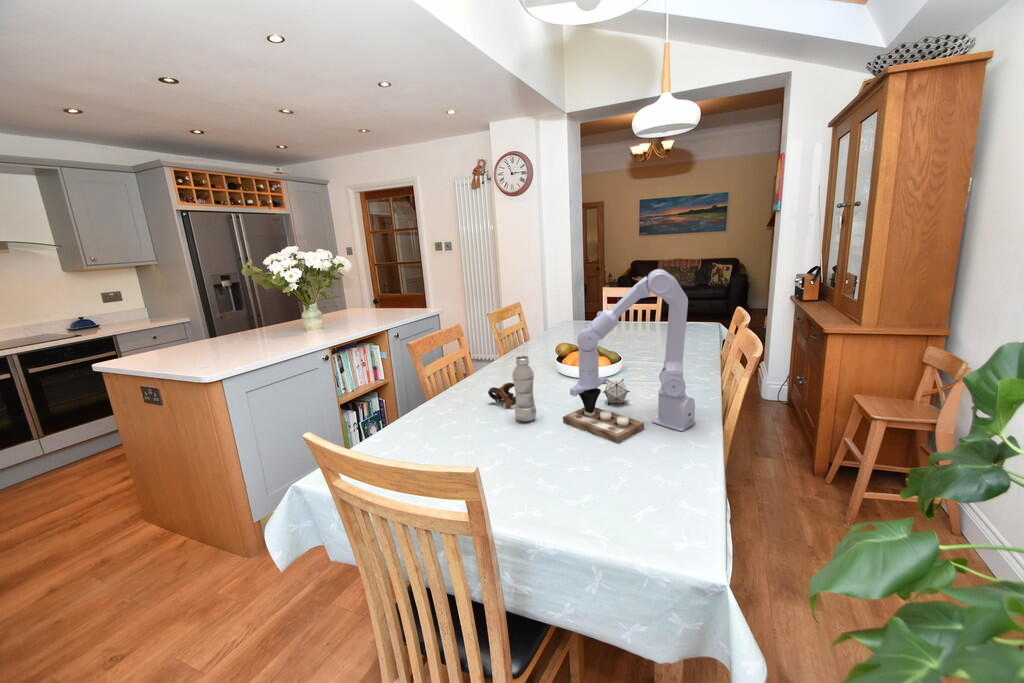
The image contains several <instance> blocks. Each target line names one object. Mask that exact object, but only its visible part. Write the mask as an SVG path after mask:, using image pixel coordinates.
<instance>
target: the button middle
mask: <svg viewBox="0 0 1024 683" xmlns="http://www.w3.org/2000/svg"><path fill="white" fill-rule="evenodd" d="M611 412H612V411H609V412H608V410H606V411H602V412H600V420H602V421H605V422H608V421H610V420H611Z"/></svg>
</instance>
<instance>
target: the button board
mask: <svg viewBox="0 0 1024 683" xmlns="http://www.w3.org/2000/svg"><path fill="white" fill-rule="evenodd" d="M584 411H585V407H584V406H583V407H581V408H579V409H578V410H575V411H573V412H571V413H568V414H566V415H563V416H562V423H563V424H565V423H566V424H565V425H567V424H568V426H570V425H571V427H573V428H575V427H576V429H578V428H579V429H578V430H581V431H583V430H584V432H586V431H587V432H586V433H589V434H591V433H592V435H594V434H595V435H594V436H597V437H600V438H602V439H605V440H607V439H608V441H610V440H611V442H613V443H615V442H616V444H620V443H621V442H623V440H624V441H625V439H626V440H628V439H630V438H631V437H633V436H634V434H635V435H636V433H637V434H639V433H640V432H642V431H644V430H645V422H644V421H640V420H637V419H633V418H631V417H627V416H624V415H621V414H618V413H615V412H612V411H608V410H604V409H602V408H600V407H596V406H595V408H594V411H595V415H593V416H588V415H585V414H584ZM602 411H608V412H611V420H610V421H608V422H605V421H602V420H600V412H602ZM618 417H627V418H628V419H629V426H627V427H625V428H623V427H620V426H617V418H618ZM643 429H644V430H643ZM632 435H633V436H632ZM627 438H628V439H627Z"/></svg>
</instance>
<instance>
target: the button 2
mask: <svg viewBox="0 0 1024 683" xmlns="http://www.w3.org/2000/svg"><path fill="white" fill-rule="evenodd" d="M628 418H629V417H628ZM628 418H627V416H625V417H618V418H617V426H620V427H623V428H625V427H627V426H629V419H628Z"/></svg>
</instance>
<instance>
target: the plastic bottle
mask: <svg viewBox="0 0 1024 683" xmlns="http://www.w3.org/2000/svg"><path fill="white" fill-rule="evenodd" d="M515 364H516V366H515V367H514V369H513V370H512V375H511V377H512V381H513V382H512V383H514V386H515V387H514V386H513V387H514V392H515V394H514V395H515V396H516V404H515V405H514V415H515V418H516V419H517V421H519V422H523V423H525V422H531V421H534V420H535V419H536V417H537V413H538V412H537V407H536V403H535V397H534V380H535V372H534V370H533V369H532V367H530V365H529V364H530V361H529V357H528V356H527V355H520V356H516V358H515Z"/></svg>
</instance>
